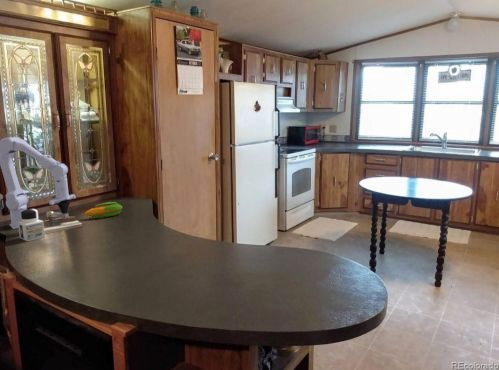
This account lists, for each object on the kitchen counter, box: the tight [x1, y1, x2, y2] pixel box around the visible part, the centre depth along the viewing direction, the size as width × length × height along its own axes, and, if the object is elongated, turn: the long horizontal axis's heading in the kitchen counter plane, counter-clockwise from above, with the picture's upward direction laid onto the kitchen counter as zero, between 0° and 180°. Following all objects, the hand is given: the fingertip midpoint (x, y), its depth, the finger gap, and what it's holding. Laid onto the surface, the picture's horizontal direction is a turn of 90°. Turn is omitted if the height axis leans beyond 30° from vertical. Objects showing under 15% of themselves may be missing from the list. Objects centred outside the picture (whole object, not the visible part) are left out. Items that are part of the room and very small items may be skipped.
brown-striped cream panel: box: [42, 215, 83, 235], centre depth 191 cm, size 19×17×4 cm
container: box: [18, 208, 46, 242], centre depth 173 cm, size 8×8×13 cm
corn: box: [84, 201, 123, 219], centre depth 208 cm, size 7×8×20 cm
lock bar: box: [46, 210, 69, 219], centre depth 192 cm, size 12×3×2 cm, turn 74°
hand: (64, 215), depth 192 cm, fingers closed
